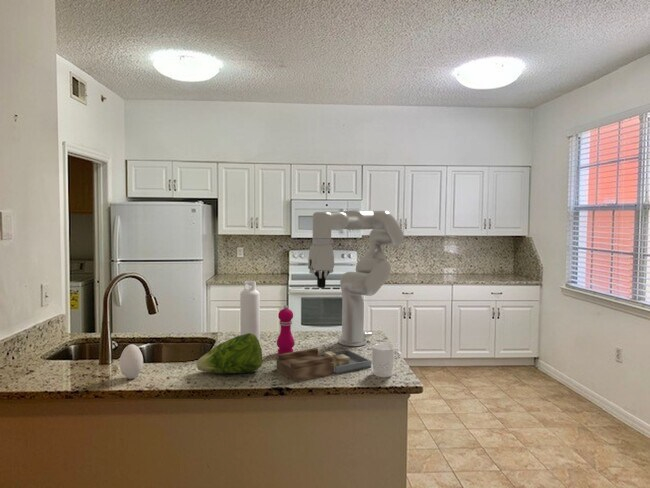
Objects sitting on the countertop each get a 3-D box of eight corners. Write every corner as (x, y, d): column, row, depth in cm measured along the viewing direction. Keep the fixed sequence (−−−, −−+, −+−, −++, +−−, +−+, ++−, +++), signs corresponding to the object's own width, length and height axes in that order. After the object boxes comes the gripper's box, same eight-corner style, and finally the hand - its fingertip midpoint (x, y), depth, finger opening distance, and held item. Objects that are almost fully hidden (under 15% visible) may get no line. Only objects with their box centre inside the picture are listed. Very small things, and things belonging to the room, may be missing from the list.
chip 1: (324, 363, 170) (329, 362, 171) (330, 367, 166) (336, 366, 168) (324, 352, 170) (329, 351, 171) (330, 355, 166) (336, 354, 167)
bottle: (237, 348, 190) (237, 282, 188) (244, 343, 198) (244, 279, 196) (255, 350, 188) (255, 283, 186) (262, 344, 196) (262, 280, 194)
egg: (124, 374, 158) (124, 341, 157) (146, 374, 159) (145, 341, 158) (116, 382, 151) (115, 347, 150) (139, 382, 151) (138, 347, 151)
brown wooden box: (314, 362, 174) (314, 347, 173) (333, 373, 162) (334, 357, 161) (276, 369, 165) (276, 353, 165) (293, 381, 153) (294, 364, 153)
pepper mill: (293, 356, 180) (293, 307, 179) (275, 356, 180) (275, 306, 179) (295, 351, 187) (295, 303, 186) (277, 350, 188) (278, 303, 186)
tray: (347, 355, 183) (347, 349, 182) (370, 367, 169) (370, 360, 169) (313, 361, 175) (313, 355, 174) (336, 374, 161) (336, 367, 161)
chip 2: (332, 355, 172) (332, 362, 172) (339, 359, 168) (339, 365, 168) (342, 354, 174) (342, 360, 174) (349, 357, 171) (349, 363, 171)
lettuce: (202, 379, 166) (195, 343, 167) (265, 363, 170) (258, 329, 170) (196, 388, 152) (189, 349, 153) (265, 371, 156) (257, 333, 156)
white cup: (367, 371, 164) (368, 344, 163) (386, 369, 167) (387, 342, 166) (378, 379, 156) (379, 351, 156) (398, 376, 160) (398, 348, 159)
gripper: (332, 241, 189) (332, 285, 191) (301, 242, 182) (300, 287, 183) (342, 242, 183) (341, 287, 184) (310, 243, 175) (309, 290, 177)
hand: (321, 287), depth 184 cm, fingers closed
